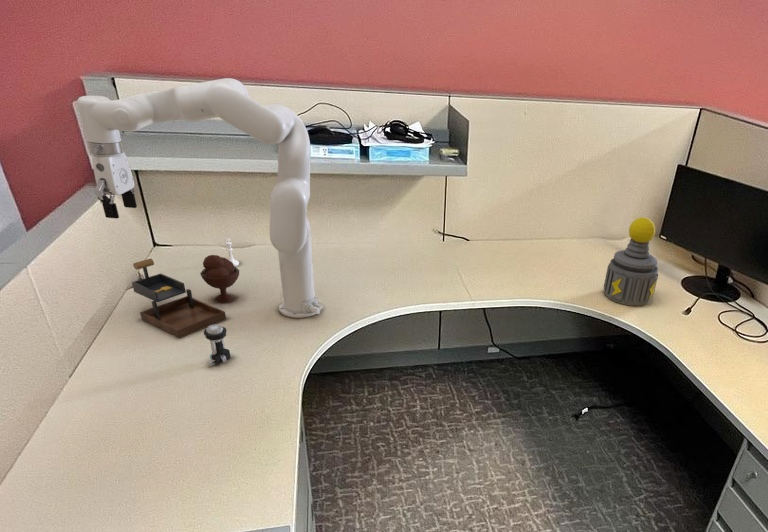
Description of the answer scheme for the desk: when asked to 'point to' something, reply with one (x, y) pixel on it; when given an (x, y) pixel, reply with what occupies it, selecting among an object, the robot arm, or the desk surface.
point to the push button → (217, 344)
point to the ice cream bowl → (220, 275)
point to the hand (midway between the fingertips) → (121, 212)
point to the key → (164, 289)
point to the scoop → (156, 284)
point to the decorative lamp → (633, 268)
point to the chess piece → (231, 252)
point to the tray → (182, 315)
